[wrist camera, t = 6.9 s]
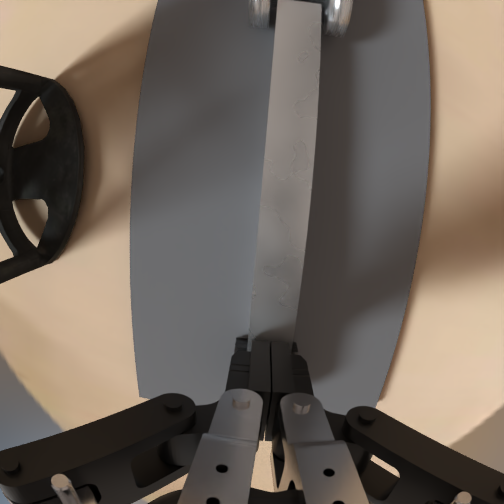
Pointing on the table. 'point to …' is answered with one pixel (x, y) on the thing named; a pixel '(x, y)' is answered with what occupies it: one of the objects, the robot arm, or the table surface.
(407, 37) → the tray
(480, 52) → the table surface
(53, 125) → the holder
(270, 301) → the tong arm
